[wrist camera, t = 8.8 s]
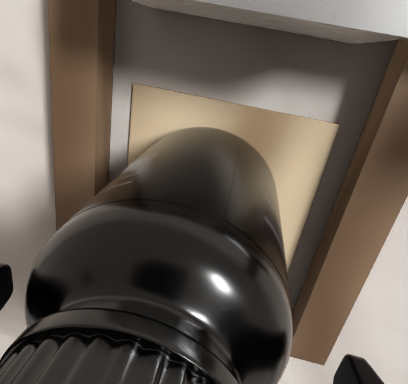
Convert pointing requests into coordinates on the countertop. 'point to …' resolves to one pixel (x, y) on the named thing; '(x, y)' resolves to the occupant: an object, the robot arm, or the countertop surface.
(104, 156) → the press base
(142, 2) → the bar
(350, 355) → the robot arm
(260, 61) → the countertop surface
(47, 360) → the supplement bottle
